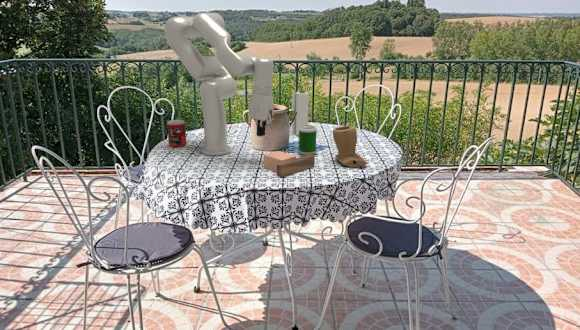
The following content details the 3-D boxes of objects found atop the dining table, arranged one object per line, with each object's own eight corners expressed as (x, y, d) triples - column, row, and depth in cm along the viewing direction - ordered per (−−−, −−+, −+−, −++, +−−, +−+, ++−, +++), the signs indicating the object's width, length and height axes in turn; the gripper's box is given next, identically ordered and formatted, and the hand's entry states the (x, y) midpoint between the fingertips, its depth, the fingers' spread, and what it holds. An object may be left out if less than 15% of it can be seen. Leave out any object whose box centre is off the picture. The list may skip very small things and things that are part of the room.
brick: (263, 168, 174) (263, 154, 172) (278, 163, 180) (278, 150, 178) (281, 174, 168) (281, 160, 166) (296, 169, 173) (296, 155, 171)
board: (276, 175, 166) (276, 164, 164) (308, 164, 178) (308, 154, 177) (282, 177, 164) (282, 166, 162) (314, 166, 176) (314, 155, 175)
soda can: (314, 156, 188) (315, 129, 184) (297, 155, 190) (297, 128, 186) (317, 151, 195) (317, 125, 191) (300, 150, 197) (300, 124, 193)
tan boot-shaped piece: (328, 157, 187) (330, 123, 182) (356, 156, 189) (358, 122, 184) (338, 169, 173) (339, 132, 168) (367, 168, 174) (369, 131, 170)
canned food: (165, 146, 202) (163, 122, 198) (176, 142, 209) (174, 119, 205) (179, 148, 199) (177, 124, 195) (189, 143, 206) (188, 120, 202)
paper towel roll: (310, 134, 224) (310, 91, 217) (303, 136, 219) (304, 93, 212) (297, 132, 227) (298, 90, 221) (291, 134, 223) (291, 92, 216)
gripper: (242, 87, 176) (241, 132, 182) (268, 94, 166) (266, 141, 173) (256, 86, 181) (255, 129, 187) (282, 92, 171) (280, 138, 178)
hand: (260, 135), depth 180 cm, fingers closed
